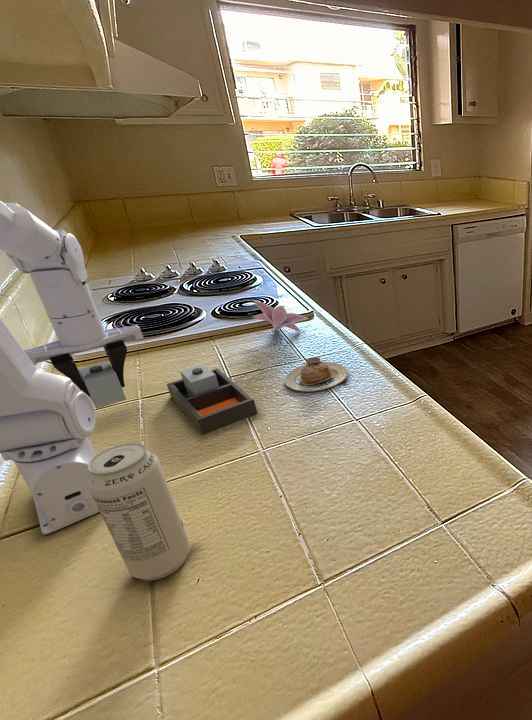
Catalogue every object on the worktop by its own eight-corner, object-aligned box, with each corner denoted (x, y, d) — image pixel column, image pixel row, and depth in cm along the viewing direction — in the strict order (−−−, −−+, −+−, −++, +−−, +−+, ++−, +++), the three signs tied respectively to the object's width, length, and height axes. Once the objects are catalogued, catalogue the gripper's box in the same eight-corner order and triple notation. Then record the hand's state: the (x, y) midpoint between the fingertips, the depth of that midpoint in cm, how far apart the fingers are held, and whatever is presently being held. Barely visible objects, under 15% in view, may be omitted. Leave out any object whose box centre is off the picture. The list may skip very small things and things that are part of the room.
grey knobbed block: (126, 399, 76) (114, 369, 73) (96, 409, 73) (83, 378, 71) (117, 387, 80) (106, 358, 77) (89, 395, 77) (76, 365, 74)
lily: (315, 343, 110) (314, 303, 111) (269, 340, 100) (268, 296, 101) (285, 347, 117) (285, 309, 118) (239, 344, 107) (239, 304, 108)
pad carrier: (258, 416, 80) (254, 399, 79) (203, 437, 75) (197, 420, 73) (222, 383, 91) (217, 367, 89) (171, 399, 85) (166, 383, 83)
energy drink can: (203, 542, 56) (166, 440, 49) (170, 586, 50) (123, 478, 44) (156, 539, 56) (112, 438, 49) (118, 583, 51) (63, 475, 44)
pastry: (280, 375, 94) (276, 354, 92) (340, 362, 99) (337, 342, 97) (291, 401, 84) (286, 379, 82) (355, 385, 90) (353, 364, 88)
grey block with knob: (222, 398, 84) (214, 371, 82) (198, 407, 82) (190, 379, 79) (210, 387, 88) (203, 361, 86) (187, 395, 85) (179, 368, 83)
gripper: (123, 295, 77) (149, 367, 83) (5, 317, 68) (44, 397, 74) (134, 305, 73) (160, 381, 79) (9, 330, 63) (50, 414, 69)
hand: (104, 390), depth 76 cm, fingers closed on grey knobbed block, 4 cm apart
